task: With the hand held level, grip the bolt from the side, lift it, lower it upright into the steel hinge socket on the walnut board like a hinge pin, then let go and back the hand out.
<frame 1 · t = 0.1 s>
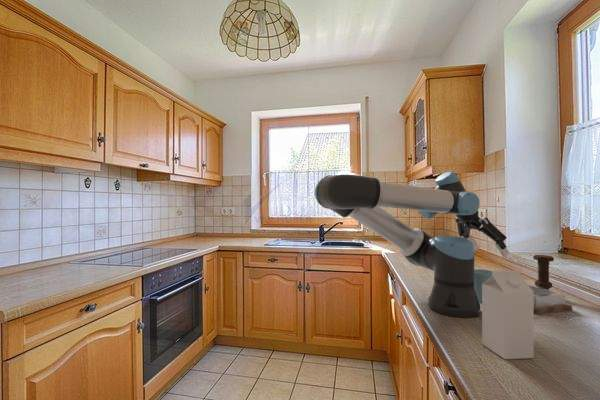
hand: (490, 252, 116), 15 cm above the worktop, tool tilted 35°, fingers open, 13 cm apart
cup: (483, 301, 104), on the worktop
hinge base: (532, 304, 100), on the worktop
bolt: (543, 296, 109), on the worktop
milk carton: (506, 352, 69), on the worktop
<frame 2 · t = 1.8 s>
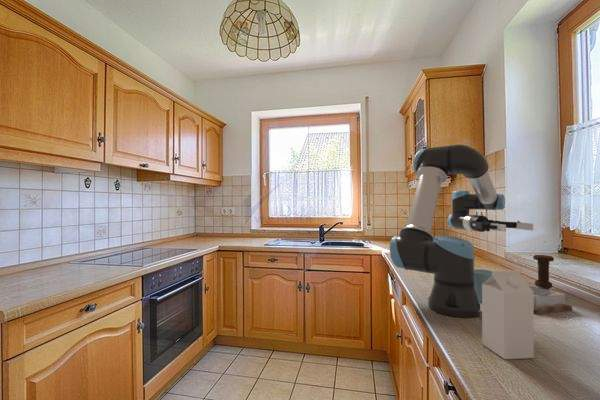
hand: (519, 227, 118), 25 cm above the worktop, tool horizontal, fingers open, 13 cm apart
nothing on the worktop moved.
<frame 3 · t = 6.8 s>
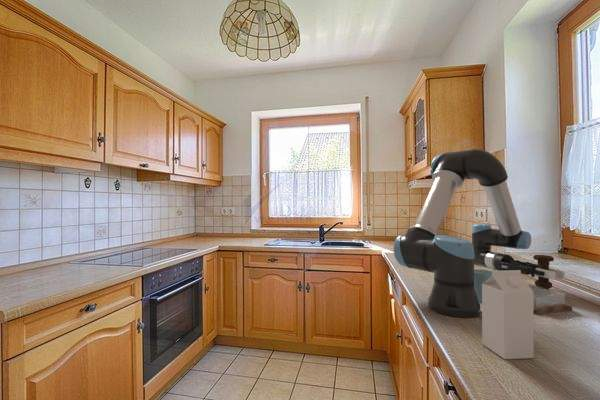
hand: (559, 275, 104), 9 cm above the worktop, tool horizontal, fingers closed on bolt, 3 cm apart
bolt: (543, 296, 109), on the worktop, touching gripper
everything else where it was.
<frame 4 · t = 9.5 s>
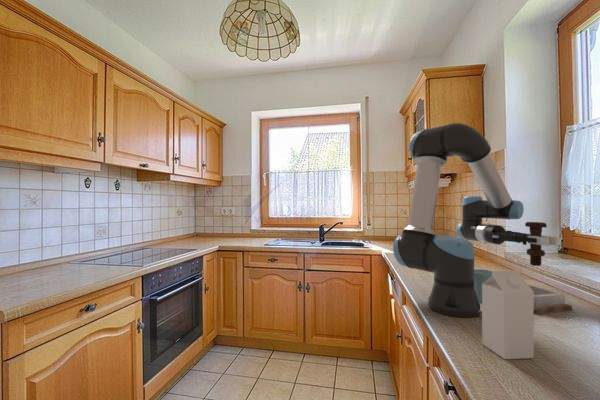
hand: (552, 241, 98), 22 cm above the worktop, tool horizontal, fingers closed on bolt, 3 cm apart
bolt: (535, 265, 103), point 13 cm above the worktop, touching gripper
everything else where it was.
when the fingers open (12 cm above the worktop, at t = 12.4 s): bolt stays where it is, resting on hinge base.
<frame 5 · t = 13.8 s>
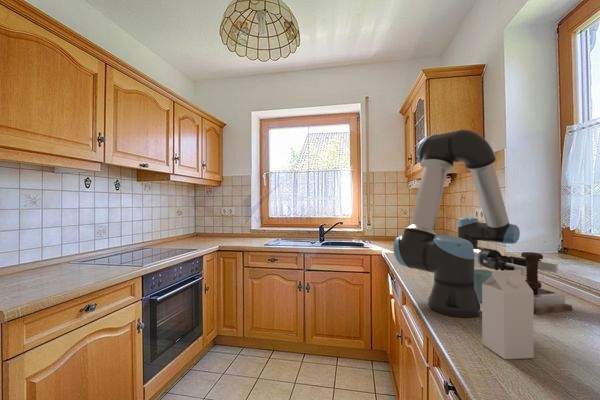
hand: (541, 269, 97), 13 cm above the worktop, tool horizontal, fingers open, 13 cm apart
bolt: (532, 297, 100), point 2 cm above the worktop, touching hinge base
everything else where it was.
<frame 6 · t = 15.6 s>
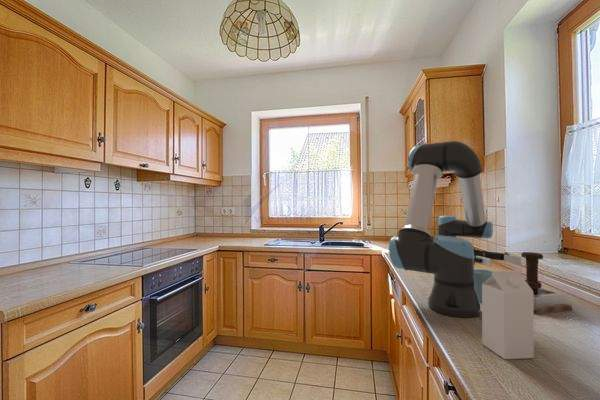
hand: (505, 261, 110), 13 cm above the worktop, tool horizontal, fingers open, 13 cm apart
nothing on the worktop moved.
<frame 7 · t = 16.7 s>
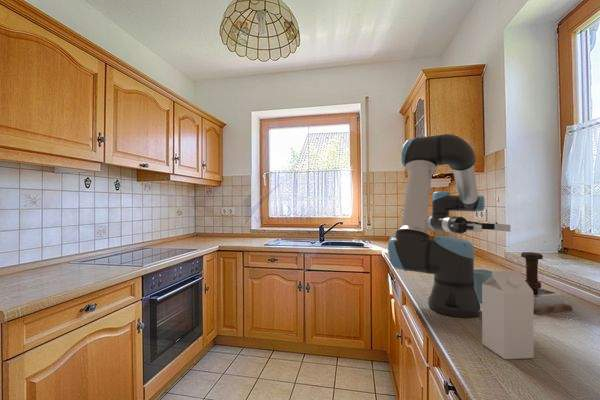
hand: (495, 228, 115), 25 cm above the worktop, tool horizontal, fingers open, 13 cm apart
nothing on the worktop moved.
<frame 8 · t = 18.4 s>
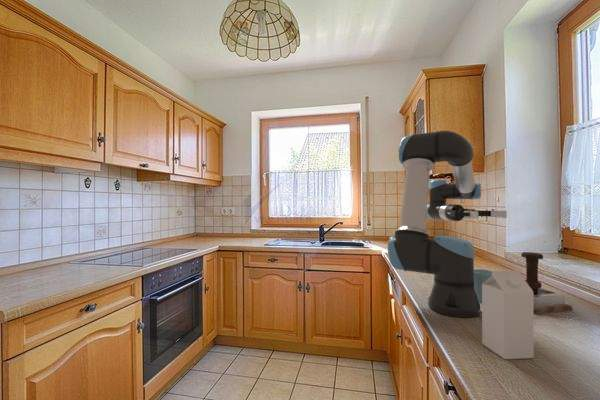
hand: (492, 214, 116), 30 cm above the worktop, tool horizontal, fingers open, 13 cm apart
nothing on the worktop moved.
at the end: bolt 0.0 cm off-centre on the hinge base, point 2.3 cm above the hinge base's base; bolt tilted 0°; the gripper is holding nothing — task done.
